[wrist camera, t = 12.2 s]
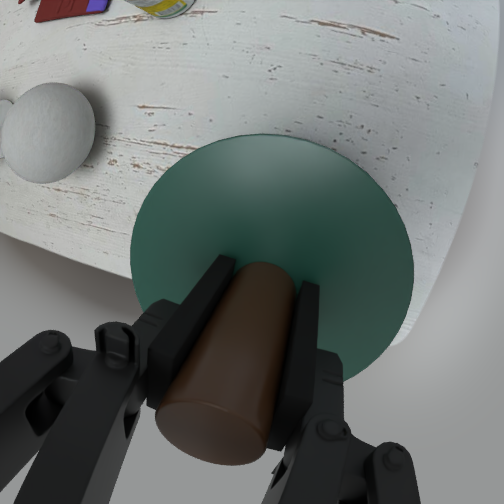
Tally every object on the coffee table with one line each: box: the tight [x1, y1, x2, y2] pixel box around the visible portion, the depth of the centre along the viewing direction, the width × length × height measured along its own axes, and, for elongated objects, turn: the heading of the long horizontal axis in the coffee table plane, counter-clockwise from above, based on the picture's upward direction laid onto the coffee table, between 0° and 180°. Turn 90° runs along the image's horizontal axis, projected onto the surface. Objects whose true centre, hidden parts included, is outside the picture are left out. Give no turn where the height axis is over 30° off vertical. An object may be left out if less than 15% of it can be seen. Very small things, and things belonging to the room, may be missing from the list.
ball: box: [1, 83, 95, 184], centre depth 24 cm, size 10×10×10 cm
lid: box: [130, 134, 414, 466], centre depth 11 cm, size 14×14×9 cm
